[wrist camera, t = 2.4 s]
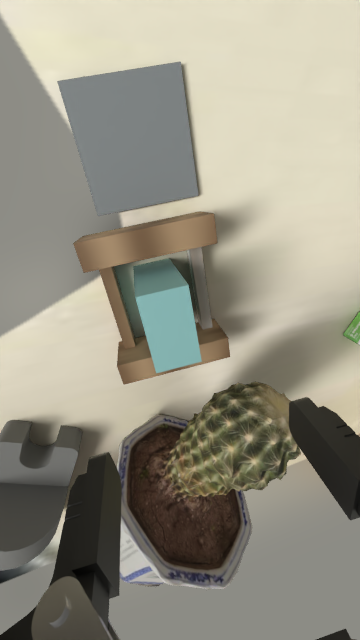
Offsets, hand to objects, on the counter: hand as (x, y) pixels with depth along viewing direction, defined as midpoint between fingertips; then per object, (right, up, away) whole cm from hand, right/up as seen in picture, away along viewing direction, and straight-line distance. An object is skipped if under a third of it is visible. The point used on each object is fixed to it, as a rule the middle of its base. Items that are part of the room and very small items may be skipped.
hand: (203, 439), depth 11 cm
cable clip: (-22, -16, +26) cm, 38 cm away
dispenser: (-3, +8, +18) cm, 20 cm away
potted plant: (-1, -9, +27) cm, 29 cm away
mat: (-5, +21, +12) cm, 25 cm away
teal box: (-3, +8, +18) cm, 20 cm away
